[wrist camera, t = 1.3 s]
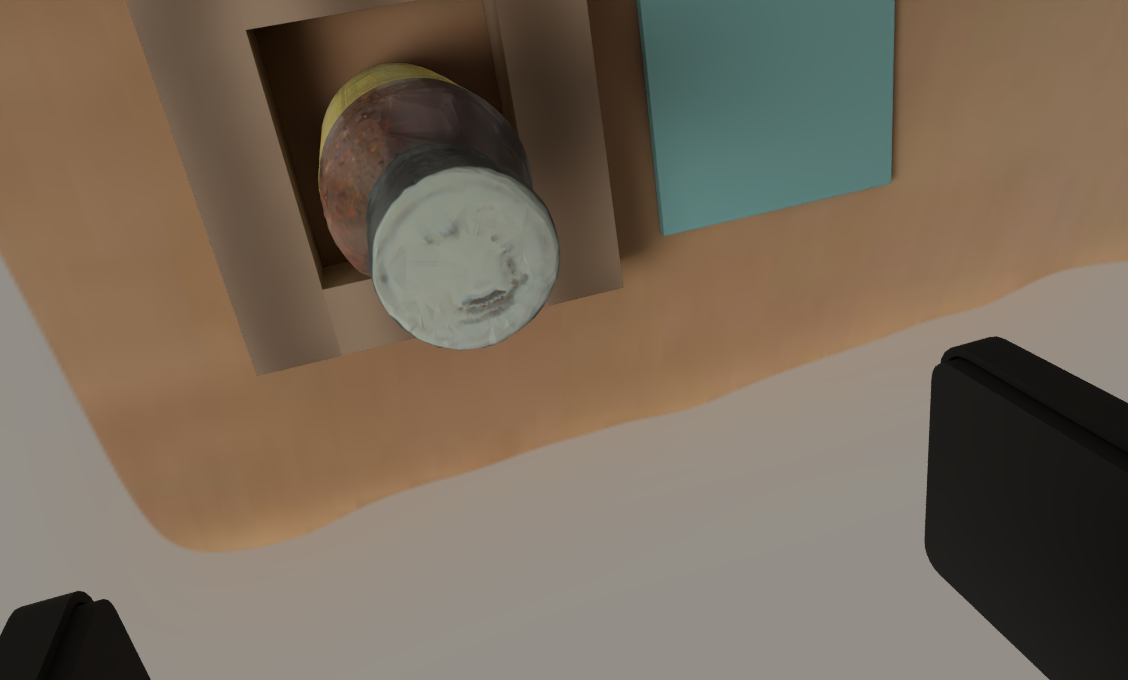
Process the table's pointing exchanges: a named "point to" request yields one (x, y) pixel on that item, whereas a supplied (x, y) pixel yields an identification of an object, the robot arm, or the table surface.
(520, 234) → the sauce bottle
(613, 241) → the pocket block
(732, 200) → the teal mat
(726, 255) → the table surface
